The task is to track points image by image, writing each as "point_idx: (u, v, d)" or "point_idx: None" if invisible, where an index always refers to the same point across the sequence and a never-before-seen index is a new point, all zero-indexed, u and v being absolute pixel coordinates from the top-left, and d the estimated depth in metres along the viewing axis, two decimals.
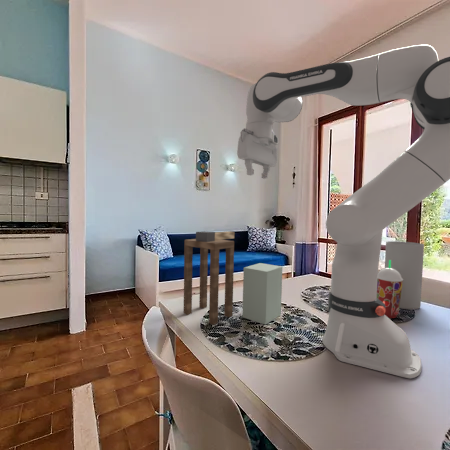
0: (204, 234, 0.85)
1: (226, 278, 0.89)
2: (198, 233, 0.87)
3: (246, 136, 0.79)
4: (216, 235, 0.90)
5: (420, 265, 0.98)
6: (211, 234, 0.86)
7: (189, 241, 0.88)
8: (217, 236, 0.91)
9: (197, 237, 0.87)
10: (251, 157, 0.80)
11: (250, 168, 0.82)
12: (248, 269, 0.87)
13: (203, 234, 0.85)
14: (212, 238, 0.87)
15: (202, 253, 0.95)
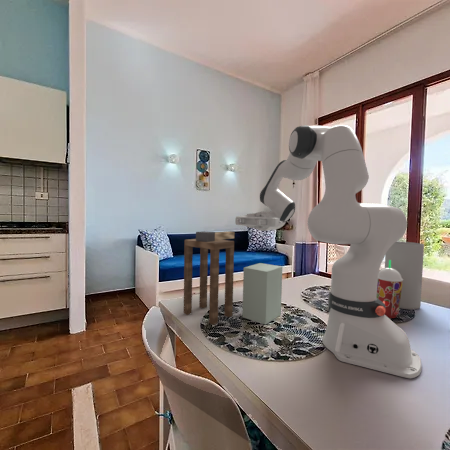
0: (204, 234, 0.85)
1: (226, 278, 0.89)
2: (198, 233, 0.87)
3: (279, 224, 1.11)
4: (216, 235, 0.90)
5: (420, 265, 0.98)
6: (211, 234, 0.86)
7: (189, 241, 0.88)
8: (217, 236, 0.91)
9: (197, 237, 0.87)
10: (268, 226, 1.07)
11: (261, 223, 1.06)
12: (248, 269, 0.87)
13: (203, 234, 0.85)
14: (212, 238, 0.87)
15: (202, 253, 0.95)
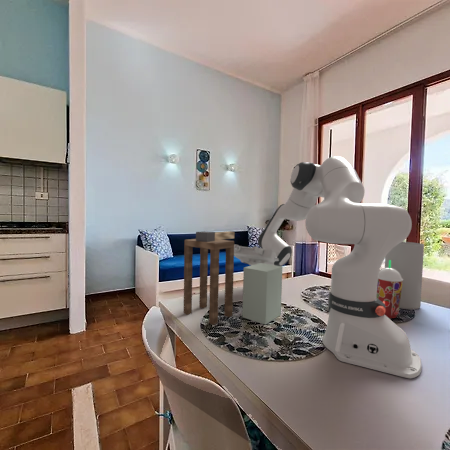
0: (204, 234, 0.85)
1: (226, 278, 0.89)
2: (198, 233, 0.87)
3: (274, 261, 1.09)
4: (216, 235, 0.90)
5: (420, 265, 0.98)
6: (211, 234, 0.86)
7: (189, 241, 0.88)
8: (217, 236, 0.91)
9: (197, 237, 0.87)
10: (263, 257, 1.06)
11: (258, 251, 1.05)
12: (248, 269, 0.87)
13: (203, 234, 0.85)
14: (212, 238, 0.87)
15: (202, 253, 0.95)
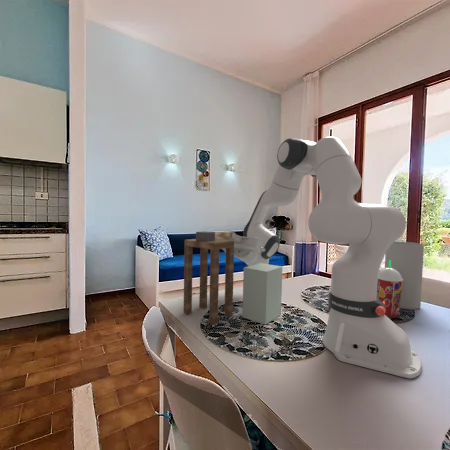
0: (204, 234, 0.85)
1: (226, 278, 0.89)
2: (198, 233, 0.87)
3: (260, 251, 0.99)
4: (216, 235, 0.90)
5: (420, 265, 0.98)
6: (211, 234, 0.86)
7: (189, 241, 0.88)
8: (217, 236, 0.91)
9: (197, 237, 0.87)
10: (247, 245, 0.96)
11: (235, 238, 0.96)
12: (248, 269, 0.87)
13: (203, 234, 0.85)
14: (212, 238, 0.87)
15: (202, 253, 0.95)
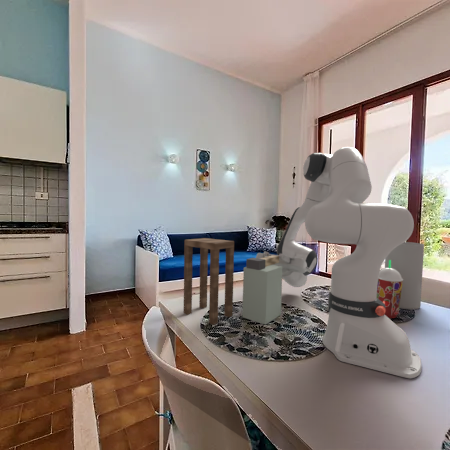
0: (256, 262, 0.85)
1: (226, 278, 0.89)
2: (249, 260, 0.86)
3: (305, 271, 0.98)
4: (265, 261, 0.90)
5: (420, 265, 0.98)
6: (262, 262, 0.86)
7: (189, 241, 0.88)
8: (266, 263, 0.90)
9: (248, 264, 0.87)
10: (294, 266, 0.95)
11: (284, 259, 0.95)
12: (248, 269, 0.87)
13: (255, 262, 0.85)
14: (263, 266, 0.86)
15: (202, 253, 0.95)
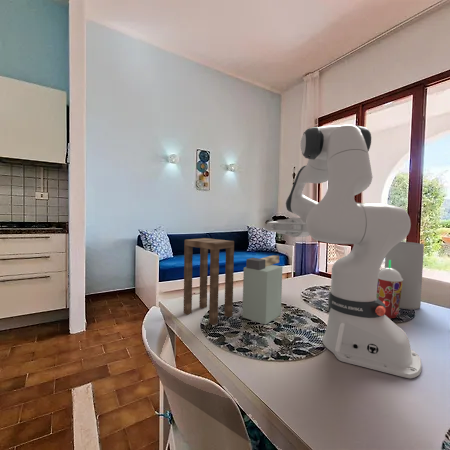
0: (256, 262, 0.85)
1: (226, 278, 0.89)
2: (249, 260, 0.86)
3: None
4: (265, 261, 0.90)
5: (420, 265, 0.98)
6: (262, 262, 0.86)
7: (189, 241, 0.88)
8: (266, 263, 0.90)
9: (248, 264, 0.87)
10: (303, 231, 1.05)
11: (296, 228, 1.03)
12: (248, 269, 0.87)
13: (255, 262, 0.85)
14: (263, 266, 0.86)
15: (202, 253, 0.95)
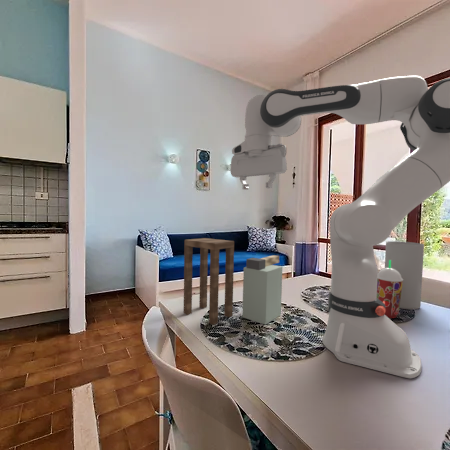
0: (256, 262, 0.85)
1: (226, 278, 0.89)
2: (249, 260, 0.86)
3: None
4: (265, 261, 0.90)
5: (420, 265, 0.98)
6: (262, 262, 0.86)
7: (189, 241, 0.88)
8: (266, 263, 0.90)
9: (248, 264, 0.87)
10: None
11: (272, 182, 0.84)
12: (248, 269, 0.87)
13: (255, 262, 0.85)
14: (263, 266, 0.86)
15: (202, 253, 0.95)
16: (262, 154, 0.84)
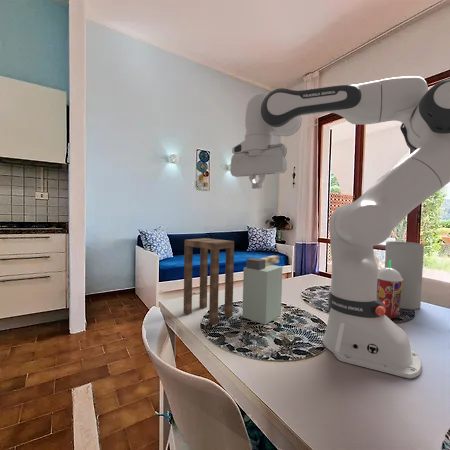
0: (256, 262, 0.85)
1: (226, 278, 0.89)
2: (249, 260, 0.86)
3: None
4: (265, 261, 0.90)
5: (420, 265, 0.98)
6: (262, 262, 0.86)
7: (189, 241, 0.88)
8: (266, 263, 0.90)
9: (248, 264, 0.87)
10: None
11: (261, 182, 0.87)
12: (248, 269, 0.87)
13: (255, 262, 0.85)
14: (263, 266, 0.86)
15: (202, 253, 0.95)
16: (262, 154, 0.84)
